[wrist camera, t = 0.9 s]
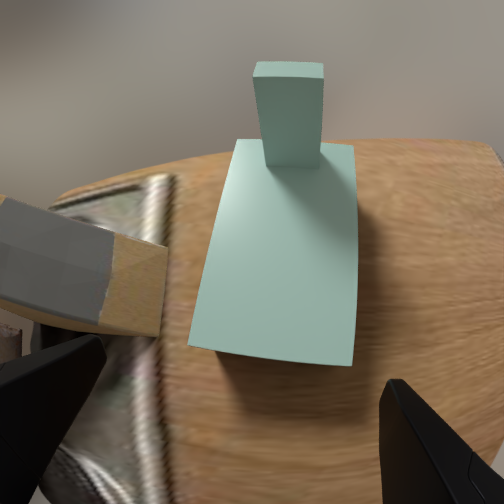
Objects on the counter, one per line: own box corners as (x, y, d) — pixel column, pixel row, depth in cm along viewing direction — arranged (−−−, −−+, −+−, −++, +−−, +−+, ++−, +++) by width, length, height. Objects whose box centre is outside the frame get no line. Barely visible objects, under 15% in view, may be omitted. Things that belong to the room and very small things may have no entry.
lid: (346, 367, 16) (403, 351, 7) (195, 348, 18) (113, 312, 9) (350, 158, 23) (365, 61, 14) (240, 152, 25) (218, 58, 16)
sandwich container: (161, 341, 22) (18, 273, 9) (40, 326, 24) (-71, 272, 10) (171, 245, 26) (80, 122, 12) (55, 253, 28) (-35, 178, 14)
